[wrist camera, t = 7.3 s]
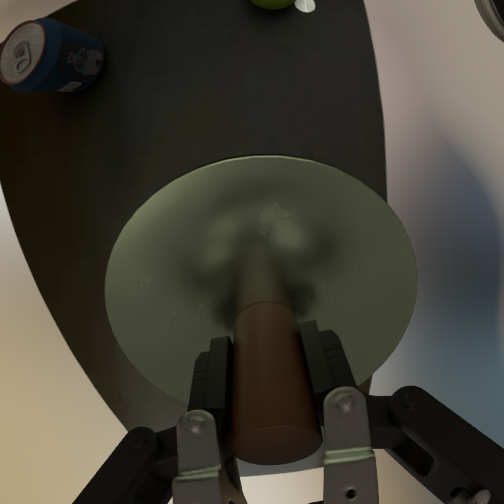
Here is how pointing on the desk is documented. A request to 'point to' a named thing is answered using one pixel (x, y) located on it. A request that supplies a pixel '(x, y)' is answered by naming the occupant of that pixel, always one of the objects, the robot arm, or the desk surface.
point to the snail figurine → (272, 4)
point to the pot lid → (261, 287)
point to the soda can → (50, 57)
